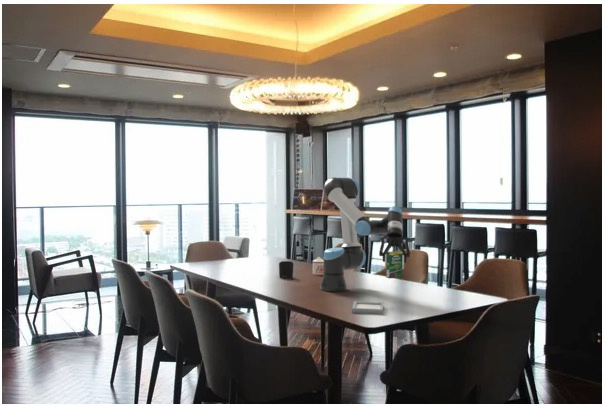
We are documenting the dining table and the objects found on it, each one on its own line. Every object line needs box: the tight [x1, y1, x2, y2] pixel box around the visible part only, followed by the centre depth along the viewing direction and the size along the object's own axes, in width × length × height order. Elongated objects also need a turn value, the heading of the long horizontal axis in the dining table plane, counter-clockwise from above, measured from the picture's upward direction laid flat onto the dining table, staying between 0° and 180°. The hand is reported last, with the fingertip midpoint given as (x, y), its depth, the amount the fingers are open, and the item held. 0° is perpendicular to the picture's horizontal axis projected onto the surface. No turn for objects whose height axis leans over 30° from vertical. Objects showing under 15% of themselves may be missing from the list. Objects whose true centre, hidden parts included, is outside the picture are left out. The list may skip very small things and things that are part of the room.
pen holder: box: [278, 260, 294, 279], centre depth 336 cm, size 9×9×10 cm
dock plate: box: [351, 300, 384, 315], centre depth 243 cm, size 14×16×2 cm
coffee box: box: [385, 250, 403, 279], centre depth 255 cm, size 8×3×13 cm, turn 114°
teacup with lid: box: [312, 256, 324, 276], centre depth 352 cm, size 12×9×12 cm
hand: (394, 266), depth 253 cm, fingers closed on coffee box, 8 cm apart
